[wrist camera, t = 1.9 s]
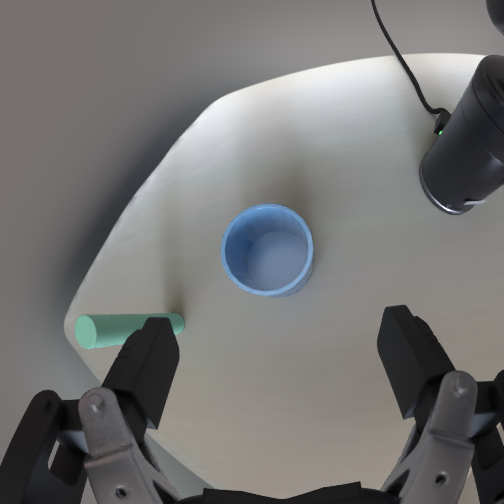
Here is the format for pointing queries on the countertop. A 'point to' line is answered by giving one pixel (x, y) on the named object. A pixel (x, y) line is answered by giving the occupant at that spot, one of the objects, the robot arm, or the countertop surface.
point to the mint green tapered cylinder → (116, 328)
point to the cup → (268, 250)
